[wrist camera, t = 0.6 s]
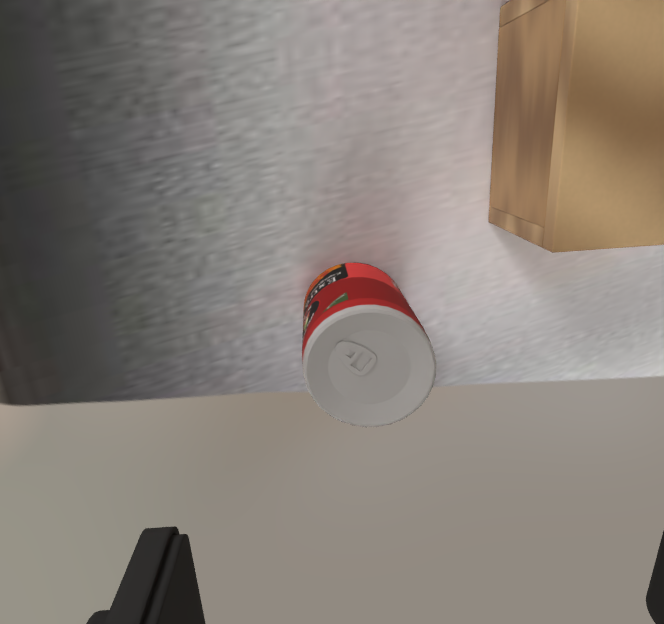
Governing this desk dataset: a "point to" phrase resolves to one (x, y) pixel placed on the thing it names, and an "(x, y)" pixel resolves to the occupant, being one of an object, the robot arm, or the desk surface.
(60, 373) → the desk surface
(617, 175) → the wooden stand
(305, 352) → the canned food
